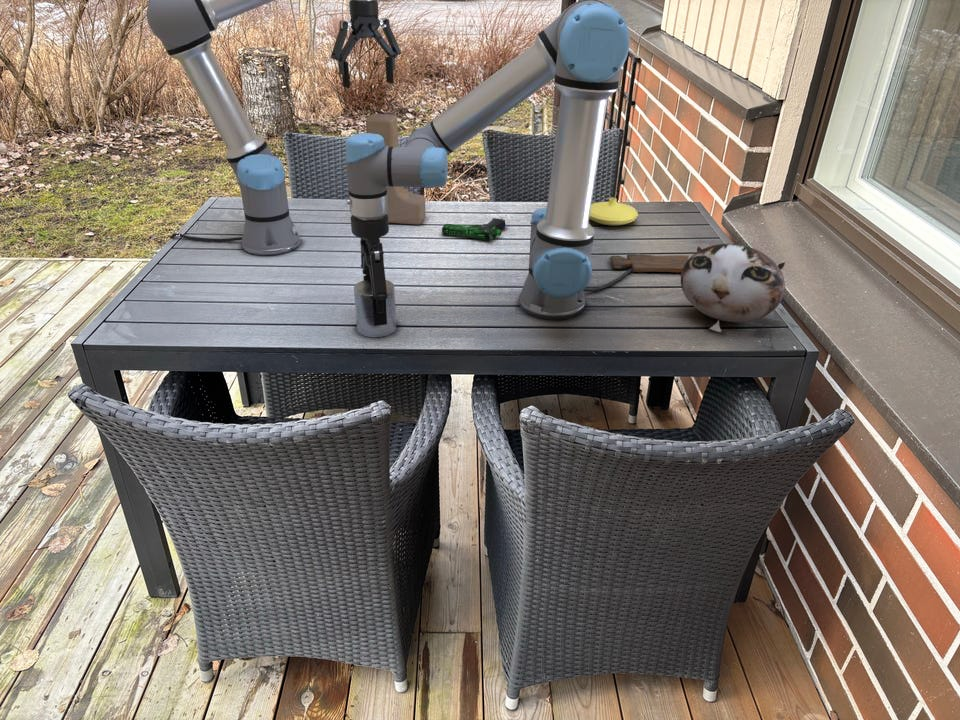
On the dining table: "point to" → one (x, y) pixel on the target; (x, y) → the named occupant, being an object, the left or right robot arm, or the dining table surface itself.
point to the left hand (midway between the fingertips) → (368, 85)
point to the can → (366, 310)
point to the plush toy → (732, 283)
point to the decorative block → (400, 200)
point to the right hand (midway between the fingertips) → (375, 313)
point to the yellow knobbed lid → (612, 213)
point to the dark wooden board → (650, 263)
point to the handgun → (476, 230)
